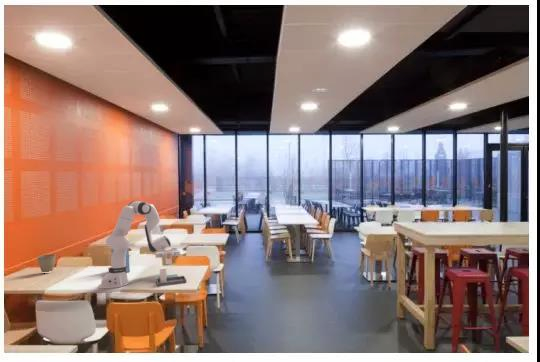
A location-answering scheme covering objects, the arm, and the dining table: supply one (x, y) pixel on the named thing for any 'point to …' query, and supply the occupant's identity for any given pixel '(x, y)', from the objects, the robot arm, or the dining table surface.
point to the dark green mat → (169, 276)
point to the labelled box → (168, 256)
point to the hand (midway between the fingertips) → (168, 255)
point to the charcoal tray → (172, 281)
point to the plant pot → (46, 262)
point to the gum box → (126, 259)
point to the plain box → (163, 275)
